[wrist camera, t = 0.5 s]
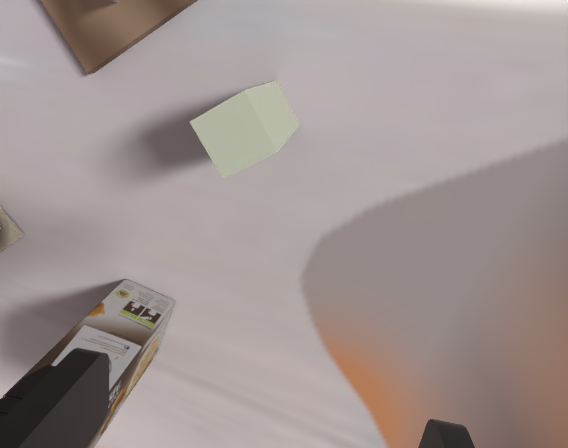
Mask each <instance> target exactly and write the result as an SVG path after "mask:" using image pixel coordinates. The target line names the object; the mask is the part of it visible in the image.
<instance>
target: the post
mask: <svg viewBox="0 0 568 448" xmlns="http://www.w3.org/2000/svg"><path fill="white" fill-rule="evenodd" d="M190 124H191V125H192V127H193V129H194V130H195V132H196V134H197V136H198V137H199V139H200V141H201V142H202V144H203V146H204V148H205V149H206V151H207V153H208V155H209V156H210V158H211V160H212V161H213V163H214V165H215V167H216V168H217V170H218V172H219V173H220V175H221V177H222V179H224V178H226V177H228V176H230V175H232V174H234V173H236V172H238V171H240V170H242V169H244V168H246V167H248V166H250V165H252V164H254V163H256V162H258V161H260V160H262V159H264V158H266V157H268V156H270V155H272V154H274V153H276V152H278V150H279V149H280V148H281V147H282V146H283V145H284V143H285V142H286V141H287V140H288V139H289V137H290V136H291V135H292V134H293V133H294V132H295V130H296V129H297V128H298V127H299V126H300V125H299V123H298V121H297V119H296V117H295V115H294V113H293V111H292V109H291V107H290V105H289V103H288V101H287V99H286V97H285V95H284V93H283V91H282V89H281V87H280V85H279V83H278V81H277V80H276V81H273V82H269V83H266V84H263V85H259V86H256V87H252V88H249V89H246V90H243V91H242V92H240V93H238V94H237V95H235V96H233V97H231V98H230V99H228V100H226V101H224V102H223V103H221V104H219V105H218V106H216V107H214V108H212V109H211V110H209V111H207V112H205V113H204V114H202V115H200V116H199V117H197V118H195V119H193V120H192V121H190Z"/></svg>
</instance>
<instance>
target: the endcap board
mask: <svg viewBox="0 0 568 448" xmlns="http://www.w3.org/2000/svg"><path fill="white" fill-rule="evenodd" d="M196 1H197V0H41V2H42V3H43V5H44V6H45V8H46V9H47V11H48V13H49V14H50V16H51V17H52V19H53V20H54V22H55V24H56V25H57V27H58V28H59V30H60V31H61V33H62V35H63V36H64V38H65V39H66V41H67V42H68V44H69V46H70V47H71V49H72V50H73V52H74V53H75V55H76V57H77V58H78V60H79V61H80V63H81V64H82V66H83V68H84V69H85V71H86V72H87V73H95V72H96V71H98V70H99V69H100V68H102V67H103V66H105V65H106V64H108V63H109V62H110V61H112V60H113V59H115V58H116V57H118V56H119V55H120V54H122V53H123V52H125V51H126V50H127V49H129V48H130V47H132V46H133V45H135V44H136V43H137V42H139V41H140V40H142V39H143V38H145V37H146V36H147V35H149V34H150V33H152V32H153V31H154V30H156V29H157V28H159V27H160V26H162V25H163V24H164V23H166V22H167V21H169V20H170V19H172V18H173V17H174V16H176V15H177V14H179V13H180V12H182V11H183V10H184V9H186V8H187V7H189V6H190V5H191V4H193V3H194V2H196Z"/></svg>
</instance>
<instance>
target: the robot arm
mask: <svg viewBox="0 0 568 448" xmlns="http://www.w3.org/2000/svg"><path fill="white" fill-rule="evenodd" d="M108 406H109V356H108V354H107V353H103V352H98V351H92V350H87V349H82V348H75V349H73V350H72V351H71V352H70V353H69V354H68V355H67V356H66V357H64V358H63V359H62V360H61V361H60V362H59V363H58V364H57V365H56V366H52V365H46V366H44V367H42V368H41V369H39V370H37V371H35V372H33V373H31V374H29V375H28V376H26V377H24V378H23V379H22V380H21V381H20V382H19V383H17V384H16V385H15V386H14V387H13V388H12V389H11V390H10V391H9V392H8V393H7V394H6V395H5V397H4V398H1V399H0V448H87V446H88V445H89V443H90V442H91V440H92V439H93V437H94V436H95V434H96V433H97V432H98V430H99V429H100V427H101V425H102V423H103V421H104V419H105V416H106V414H107V410H108ZM419 448H475V447H474V445H473V442H472V440H471V438H470V435H469V433H468V431H467V429H466V427H464V426H463V425H459V424H454V423H449V422H444V421H439V420H434V419H430V420H429V421H428V422H427V425H426V427H425V431H424V433H423V436H422V439H421V442H420V445H419Z"/></svg>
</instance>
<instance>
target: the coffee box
mask: <svg viewBox="0 0 568 448" xmlns="http://www.w3.org/2000/svg"><path fill="white" fill-rule="evenodd" d="M174 305H175V301H174V300H172V299H170V298H167V297H165V296H163V295H161V294H158V293H156V292H154V291H152V290H149V289H147V288H145V287H143V286H141V285H138V284H136V283H134V282H132V281H129V280H123V281H122V282H121V283H120V284H119V285H118V286H117V287H116V288H115V289H114V290H113V291H112V292H110V293H109V294H108V295H107V296H106V297H105V298H104V299H103V300H102V301H101V302H100V303H99V304H98V305H97V306H96V307H95V308H94V309H93V310H92V311H91V312H90V313H89V314H88V315H87V316H86V317H85V318H84V319H82V320H81V321H80V322H79V323H78V324H77V325H76V326H75V327H74V328H73V329H72V330H71V331H70V332H69V333H68V334H67V335H66V336H65V337H64V338H63V339H62V340H61V341H60V342H59V343H58V344H57V345H56V346H55V347H53V348H52V349H51V350H50V351H49V352H48V353H47V354H46V355H45V356H44V357H43V358H42V359H41V360H40V361H39V362H38V363H37V364H36V365H35V366H34V367H33V368H32V369H31V370H30V371H29V372H28V373H27V374H25V375H24V376H23V377H22V378H21V379H20V380H19V381H18V382H17V383H19V382H20V381H21V380H22V379H23V378H24V377H26V376H28V375H29V374H31V373H33V372H35V371H37V370H39V369H41V368H42V367H44V366H46V365H52V366H56V365H57V364H58V363H59V362H60V361H61V360H62V359H63V358H64V357H66V356H67V355H68V354H69V353H70V352H71V351H72V350H73V349H75V348H82V349H87V350H92V351H98V352H103V353H107V354H108V356H109V406H108V410H107V414H106V416H105V419H104V421H103V423H102V425H101V427H100V429H99V430H98V432H97V433H96V434H95V436H94V437H93V439H92V440H91V442H90V443H89V445H88V446H87V448H94V447H95V445H96V444H97V442H98V441H99V439H100V438H101V436H102V435H103V433H104V432H105V430H106V429H107V427H108V426H109V424H110V423H111V421H112V420H113V418H114V416H115V415H116V413H117V412H118V410H119V409H120V407H121V406H122V404H123V403H124V401H125V400H126V398H127V397H128V395H129V394H130V392H131V391H132V389H133V388H134V386H135V385H136V383H137V382H138V380H139V379H140V378H141V376H142V375H143V373H144V372H145V370H146V369H147V367H148V366H149V364H150V363H151V361H152V360H153V358H154V357H155V355H156V354H157V351H158V349H159V346H160V343H161V340H162V338H163V335H164V332H165V330H166V327H167V324H168V321H169V319H170V316H171V313H172V310H173V308H174ZM17 383H16V384H17ZM16 384H15V385H16ZM15 385H14V386H15ZM14 386H13V387H14ZM13 387H12V388H13ZM12 388H11V389H12ZM11 389H10V390H11ZM10 390H9V391H10ZM9 391H8V392H9ZM8 392H7V393H8ZM7 393H6V394H7ZM6 394H5V395H6ZM5 395H3V398H4V397H5Z"/></svg>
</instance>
